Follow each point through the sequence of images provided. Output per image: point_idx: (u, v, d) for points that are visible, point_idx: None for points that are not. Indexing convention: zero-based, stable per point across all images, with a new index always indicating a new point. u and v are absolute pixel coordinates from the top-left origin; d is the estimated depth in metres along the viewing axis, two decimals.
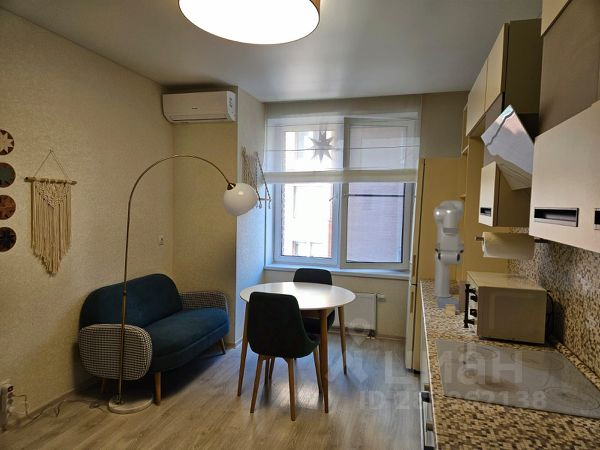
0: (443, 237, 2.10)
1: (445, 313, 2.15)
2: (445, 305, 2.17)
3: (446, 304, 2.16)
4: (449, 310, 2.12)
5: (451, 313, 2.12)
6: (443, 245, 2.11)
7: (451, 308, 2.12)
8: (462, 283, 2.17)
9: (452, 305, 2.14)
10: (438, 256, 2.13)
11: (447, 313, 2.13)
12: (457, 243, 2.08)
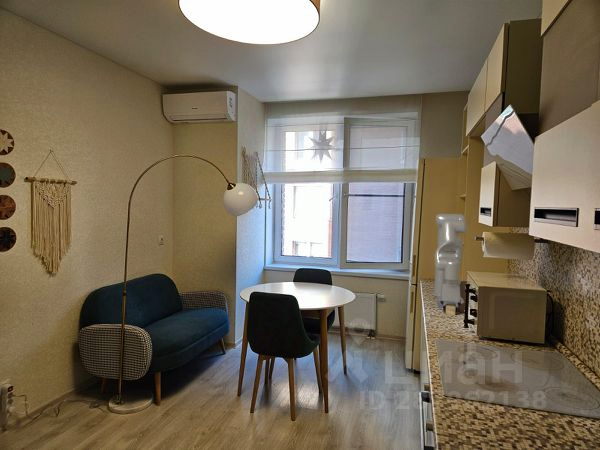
0: (445, 288, 2.12)
1: (445, 313, 2.15)
2: None
3: (446, 304, 2.16)
4: (449, 310, 2.12)
5: (451, 313, 2.12)
6: (445, 296, 2.13)
7: (451, 308, 2.12)
8: (462, 283, 2.16)
9: (452, 305, 2.14)
10: (443, 308, 2.15)
11: (447, 313, 2.13)
12: (458, 294, 2.10)
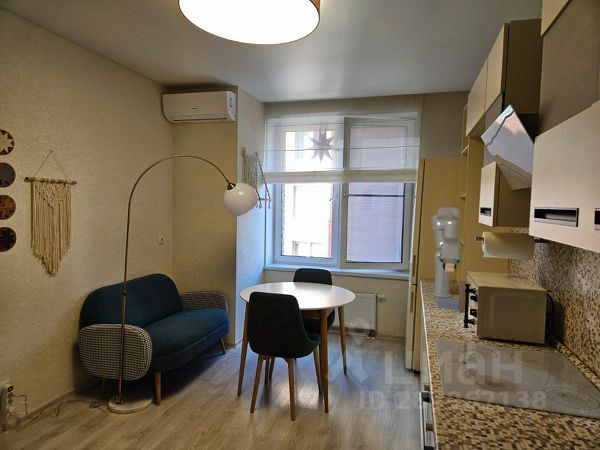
0: (444, 246, 2.26)
1: (445, 270, 2.29)
2: (445, 263, 2.30)
3: (445, 262, 2.30)
4: (448, 267, 2.26)
5: (450, 269, 2.26)
6: (444, 254, 2.27)
7: (450, 265, 2.26)
8: (462, 283, 2.16)
9: (451, 262, 2.28)
10: (443, 266, 2.28)
11: (446, 270, 2.26)
12: (457, 252, 2.24)
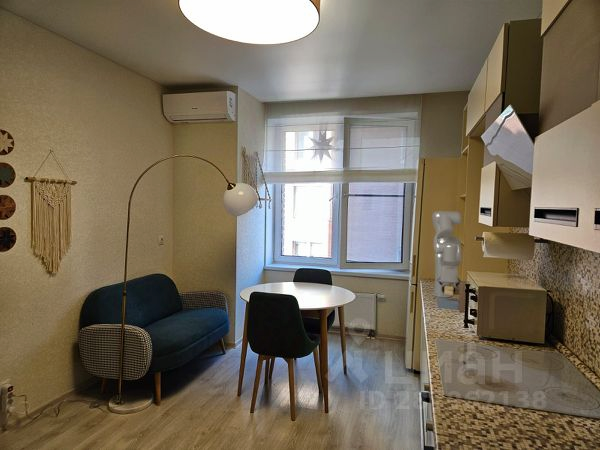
0: (443, 270, 2.27)
1: (444, 293, 2.29)
2: (444, 286, 2.31)
3: (445, 285, 2.31)
4: (447, 290, 2.27)
5: (449, 293, 2.26)
6: (443, 277, 2.27)
7: (449, 288, 2.26)
8: (462, 283, 2.16)
9: (450, 285, 2.29)
10: (442, 289, 2.29)
11: (446, 293, 2.27)
12: (456, 275, 2.25)
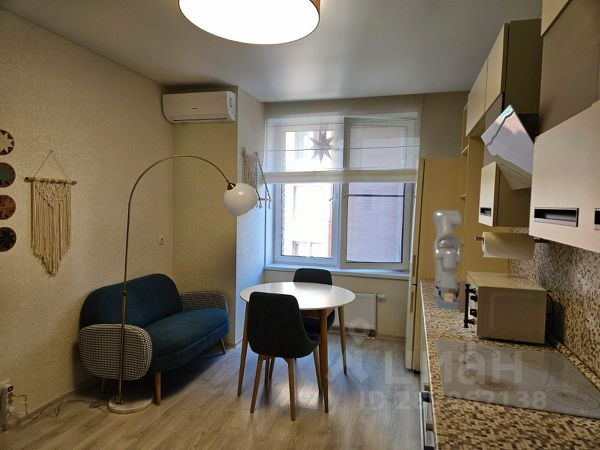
0: (443, 276, 2.27)
1: None
2: None
3: (444, 292, 2.31)
4: (447, 297, 2.27)
5: (449, 300, 2.27)
6: (443, 283, 2.28)
7: (449, 295, 2.27)
8: (462, 283, 2.16)
9: (450, 293, 2.29)
10: (438, 293, 2.30)
11: (445, 300, 2.27)
12: (456, 282, 2.26)
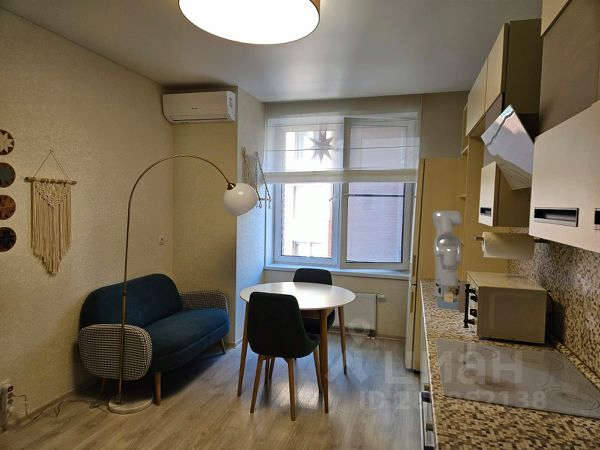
0: (443, 273, 2.28)
1: None
2: None
3: (444, 292, 2.31)
4: (447, 297, 2.27)
5: (449, 300, 2.27)
6: (443, 281, 2.28)
7: (449, 295, 2.26)
8: (462, 283, 2.16)
9: (450, 293, 2.29)
10: (438, 290, 2.31)
11: (445, 300, 2.27)
12: (456, 279, 2.26)
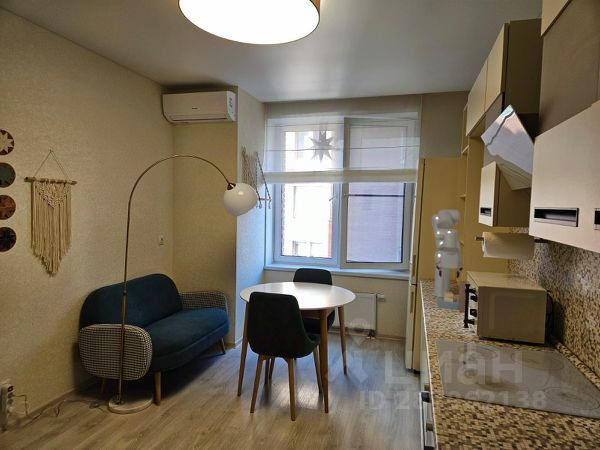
0: (444, 256, 2.27)
1: (444, 300, 2.29)
2: None
3: (444, 292, 2.31)
4: (447, 297, 2.27)
5: (449, 300, 2.27)
6: (444, 263, 2.27)
7: (449, 295, 2.27)
8: (462, 283, 2.16)
9: (450, 293, 2.29)
10: (439, 273, 2.29)
11: (446, 300, 2.27)
12: (457, 261, 2.25)
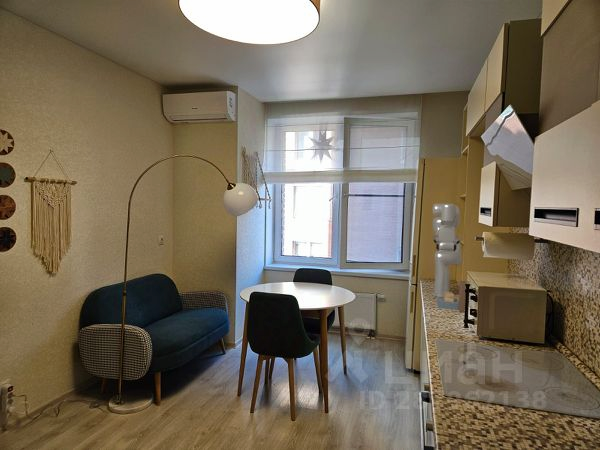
0: (441, 229, 2.30)
1: (444, 300, 2.30)
2: None
3: (444, 292, 2.31)
4: (448, 297, 2.27)
5: (450, 300, 2.27)
6: (441, 236, 2.30)
7: (450, 295, 2.27)
8: (462, 283, 2.16)
9: (450, 292, 2.29)
10: (436, 247, 2.33)
11: (446, 300, 2.27)
12: (454, 235, 2.28)
